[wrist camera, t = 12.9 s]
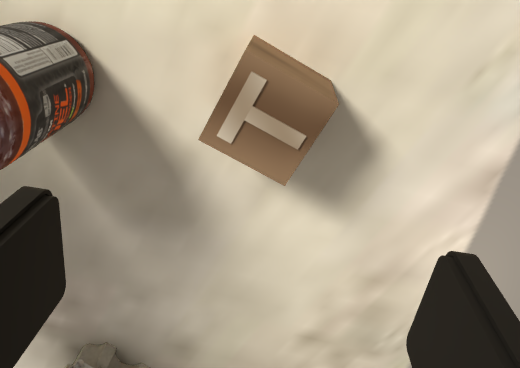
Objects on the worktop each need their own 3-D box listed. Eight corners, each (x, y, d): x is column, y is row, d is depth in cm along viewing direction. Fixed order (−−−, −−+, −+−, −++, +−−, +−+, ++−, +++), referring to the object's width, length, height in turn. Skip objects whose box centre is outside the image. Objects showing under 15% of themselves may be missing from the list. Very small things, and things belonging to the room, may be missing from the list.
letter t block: (284, 151, 27) (283, 188, 22) (213, 112, 26) (196, 142, 21) (330, 80, 25) (339, 105, 20) (254, 34, 24) (245, 50, 19)
